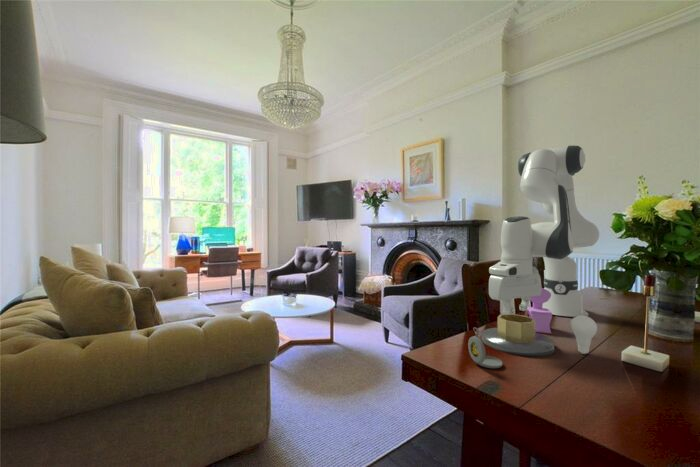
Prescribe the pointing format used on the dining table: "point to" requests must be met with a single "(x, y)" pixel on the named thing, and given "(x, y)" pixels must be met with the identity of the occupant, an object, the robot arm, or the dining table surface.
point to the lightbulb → (583, 332)
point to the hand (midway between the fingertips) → (516, 311)
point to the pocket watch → (481, 353)
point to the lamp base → (517, 337)
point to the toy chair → (540, 312)
